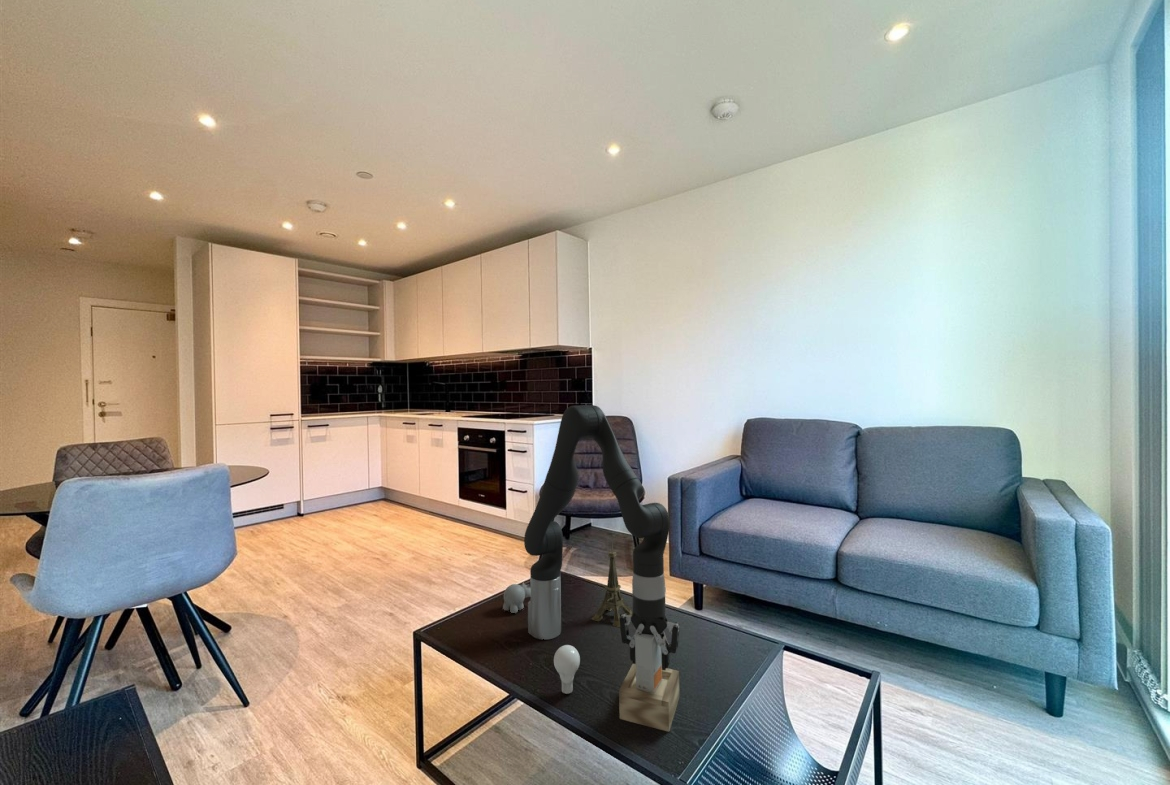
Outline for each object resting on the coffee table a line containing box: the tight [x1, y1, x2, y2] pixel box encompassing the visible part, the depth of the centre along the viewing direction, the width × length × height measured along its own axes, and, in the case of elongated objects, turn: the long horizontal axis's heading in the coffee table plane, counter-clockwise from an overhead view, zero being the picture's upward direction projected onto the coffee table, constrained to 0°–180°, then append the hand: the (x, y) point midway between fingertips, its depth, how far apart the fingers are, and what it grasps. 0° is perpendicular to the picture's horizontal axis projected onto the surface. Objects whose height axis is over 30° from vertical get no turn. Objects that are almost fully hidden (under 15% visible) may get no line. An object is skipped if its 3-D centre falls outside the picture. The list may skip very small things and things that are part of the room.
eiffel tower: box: [590, 541, 633, 628], centre depth 148 cm, size 11×11×25 cm
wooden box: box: [618, 663, 680, 733], centre depth 103 cm, size 11×12×6 cm
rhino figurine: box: [502, 581, 531, 614], centre depth 155 cm, size 7×12×8 cm, turn 140°
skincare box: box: [635, 634, 662, 694], centre depth 103 cm, size 6×4×12 cm
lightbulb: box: [553, 644, 581, 695], centre depth 109 cm, size 6×6×11 cm
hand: (649, 665), depth 103 cm, fingers open, 6 cm apart
